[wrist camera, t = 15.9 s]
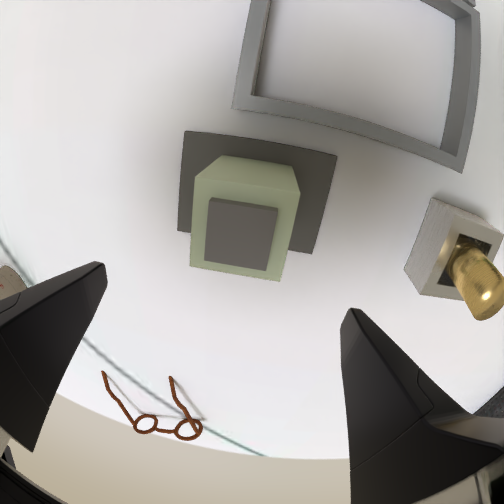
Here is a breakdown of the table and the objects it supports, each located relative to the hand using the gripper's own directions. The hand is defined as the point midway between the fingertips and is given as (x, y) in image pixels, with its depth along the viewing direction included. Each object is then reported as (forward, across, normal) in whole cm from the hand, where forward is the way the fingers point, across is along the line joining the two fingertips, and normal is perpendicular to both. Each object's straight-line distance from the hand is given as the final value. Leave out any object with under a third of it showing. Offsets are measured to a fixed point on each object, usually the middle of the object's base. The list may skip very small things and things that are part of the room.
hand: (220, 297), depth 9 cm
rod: (+12, -18, 0) cm, 22 cm away
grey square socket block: (+12, -18, 0) cm, 22 cm away
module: (+12, 0, 0) cm, 12 cm away
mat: (+12, 0, 0) cm, 13 cm away
